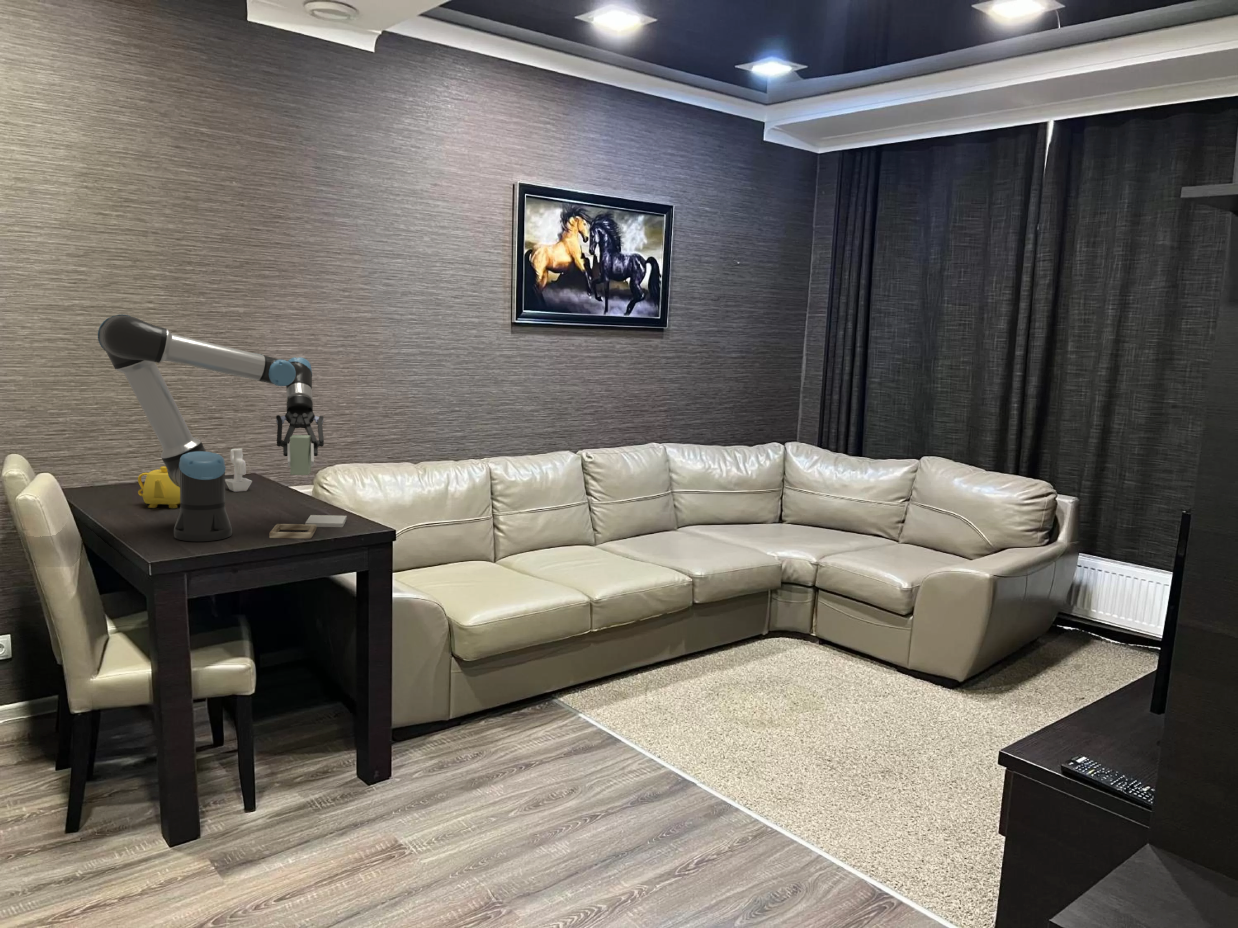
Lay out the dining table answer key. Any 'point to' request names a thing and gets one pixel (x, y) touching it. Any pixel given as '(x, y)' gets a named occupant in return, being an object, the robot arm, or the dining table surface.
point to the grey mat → (326, 520)
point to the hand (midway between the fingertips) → (300, 464)
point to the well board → (278, 527)
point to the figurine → (238, 472)
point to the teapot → (159, 489)
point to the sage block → (300, 455)
